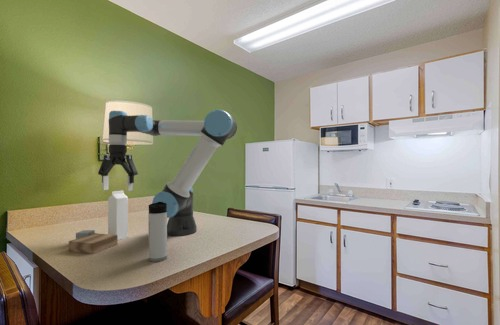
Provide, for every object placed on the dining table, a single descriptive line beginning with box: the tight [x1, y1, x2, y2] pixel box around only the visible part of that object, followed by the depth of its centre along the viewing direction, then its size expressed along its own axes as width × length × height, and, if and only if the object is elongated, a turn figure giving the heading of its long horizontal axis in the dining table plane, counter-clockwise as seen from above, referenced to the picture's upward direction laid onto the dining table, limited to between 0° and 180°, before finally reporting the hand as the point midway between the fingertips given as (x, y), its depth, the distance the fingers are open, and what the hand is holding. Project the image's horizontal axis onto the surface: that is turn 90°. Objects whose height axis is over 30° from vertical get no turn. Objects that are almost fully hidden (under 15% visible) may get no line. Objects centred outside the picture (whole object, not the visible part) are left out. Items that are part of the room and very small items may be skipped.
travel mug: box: [147, 202, 168, 263], centre depth 91 cm, size 6×7×20 cm
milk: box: [107, 189, 129, 241], centre depth 118 cm, size 6×6×22 cm
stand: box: [68, 232, 118, 255], centre depth 104 cm, size 12×12×4 cm
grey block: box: [75, 229, 96, 239], centre depth 110 cm, size 5×5×5 cm
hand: (117, 190), depth 118 cm, fingers open, 13 cm apart
